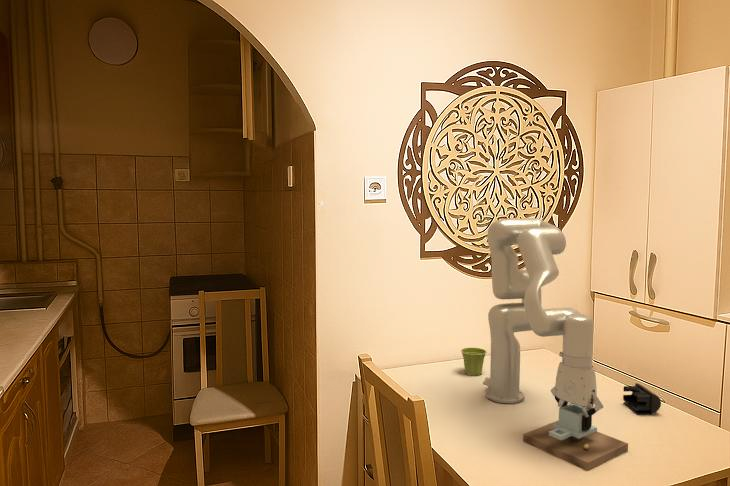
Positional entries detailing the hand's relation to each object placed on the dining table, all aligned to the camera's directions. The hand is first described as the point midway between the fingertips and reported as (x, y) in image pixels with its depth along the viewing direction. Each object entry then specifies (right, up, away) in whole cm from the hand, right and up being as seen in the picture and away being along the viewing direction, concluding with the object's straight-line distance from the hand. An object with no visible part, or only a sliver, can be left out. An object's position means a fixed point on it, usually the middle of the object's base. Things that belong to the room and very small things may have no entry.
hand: (575, 424), depth 152 cm
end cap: (+30, -4, +25) cm, 40 cm away
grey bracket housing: (-2, -2, -1) cm, 3 cm away
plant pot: (-16, 0, +60) cm, 62 cm away
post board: (0, -6, +1) cm, 6 cm away
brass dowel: (+1, -5, -6) cm, 8 cm away
